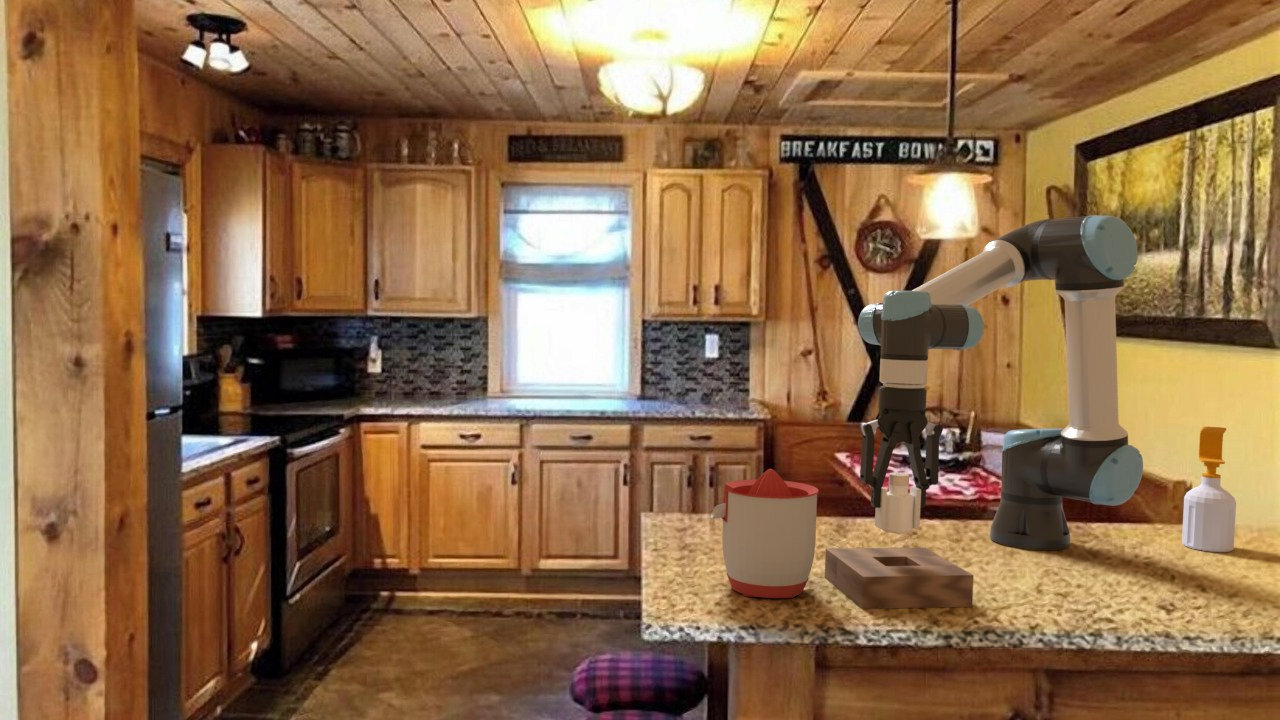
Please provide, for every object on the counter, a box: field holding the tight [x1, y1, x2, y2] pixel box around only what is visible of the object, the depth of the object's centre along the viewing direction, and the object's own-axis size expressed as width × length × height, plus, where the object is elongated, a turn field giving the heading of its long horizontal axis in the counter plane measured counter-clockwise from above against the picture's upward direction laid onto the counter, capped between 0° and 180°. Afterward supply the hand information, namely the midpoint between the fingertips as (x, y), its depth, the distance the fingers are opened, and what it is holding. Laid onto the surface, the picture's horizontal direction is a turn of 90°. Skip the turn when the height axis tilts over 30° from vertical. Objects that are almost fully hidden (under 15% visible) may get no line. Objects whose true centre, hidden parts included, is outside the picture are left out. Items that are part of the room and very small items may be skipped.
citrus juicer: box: [710, 468, 820, 599], centre depth 163 cm, size 16×17×20 cm
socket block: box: [824, 547, 974, 610], centre depth 165 cm, size 18×18×5 cm
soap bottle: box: [1181, 426, 1237, 553], centre depth 202 cm, size 9×9×25 cm
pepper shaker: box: [881, 472, 914, 535], centre depth 164 cm, size 4×4×10 cm
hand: (897, 527), depth 164 cm, fingers closed on pepper shaker, 5 cm apart
